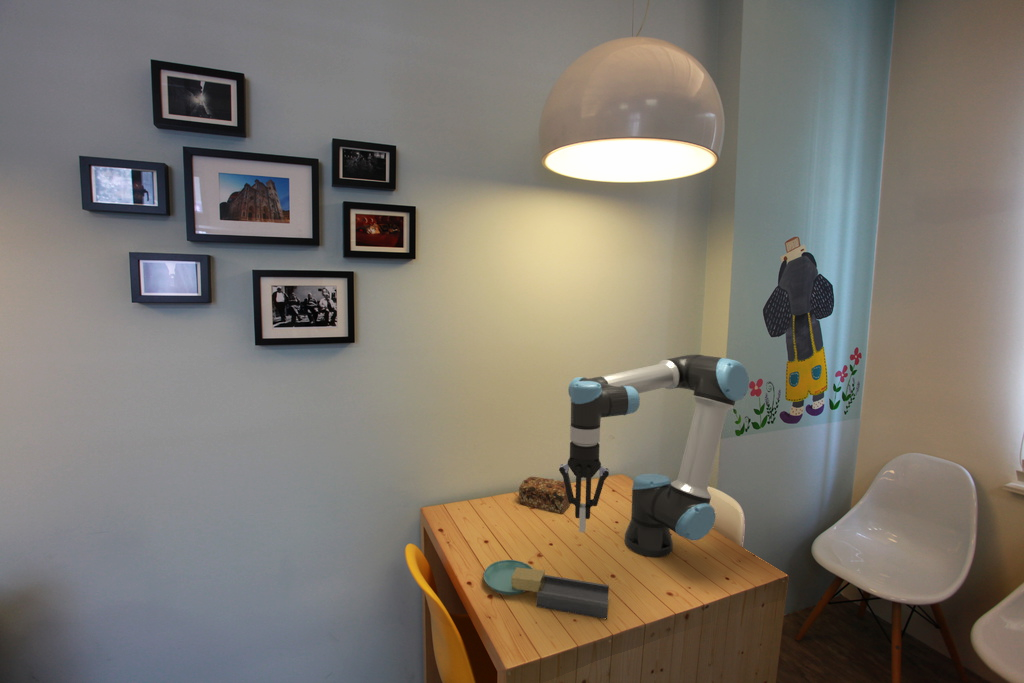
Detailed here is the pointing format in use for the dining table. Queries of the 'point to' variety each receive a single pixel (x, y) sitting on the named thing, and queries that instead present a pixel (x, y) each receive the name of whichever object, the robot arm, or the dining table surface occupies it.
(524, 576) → the tan rectangular block
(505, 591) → the saucer
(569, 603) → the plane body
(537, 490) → the bread
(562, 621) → the dining table surface
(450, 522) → the dining table surface
